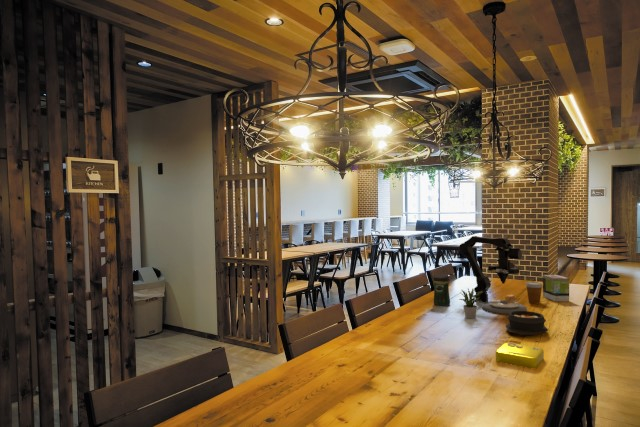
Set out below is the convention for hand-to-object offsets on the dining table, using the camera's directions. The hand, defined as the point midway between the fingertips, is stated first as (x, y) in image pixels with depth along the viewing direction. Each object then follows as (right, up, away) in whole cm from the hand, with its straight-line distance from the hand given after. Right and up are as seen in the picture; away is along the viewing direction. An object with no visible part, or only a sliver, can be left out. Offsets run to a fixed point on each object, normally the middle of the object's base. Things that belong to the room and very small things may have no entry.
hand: (503, 283), depth 269 cm
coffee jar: (-37, -14, +3) cm, 40 cm away
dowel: (0, -11, -5) cm, 12 cm away
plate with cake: (-4, -11, -12) cm, 17 cm away
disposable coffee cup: (+21, -13, +4) cm, 25 cm away
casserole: (-13, -14, -58) cm, 61 cm away
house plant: (-30, -14, -31) cm, 45 cm away
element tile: (-34, -15, -96) cm, 103 cm away
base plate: (-5, -13, -13) cm, 19 cm away
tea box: (+39, -12, +13) cm, 43 cm away
